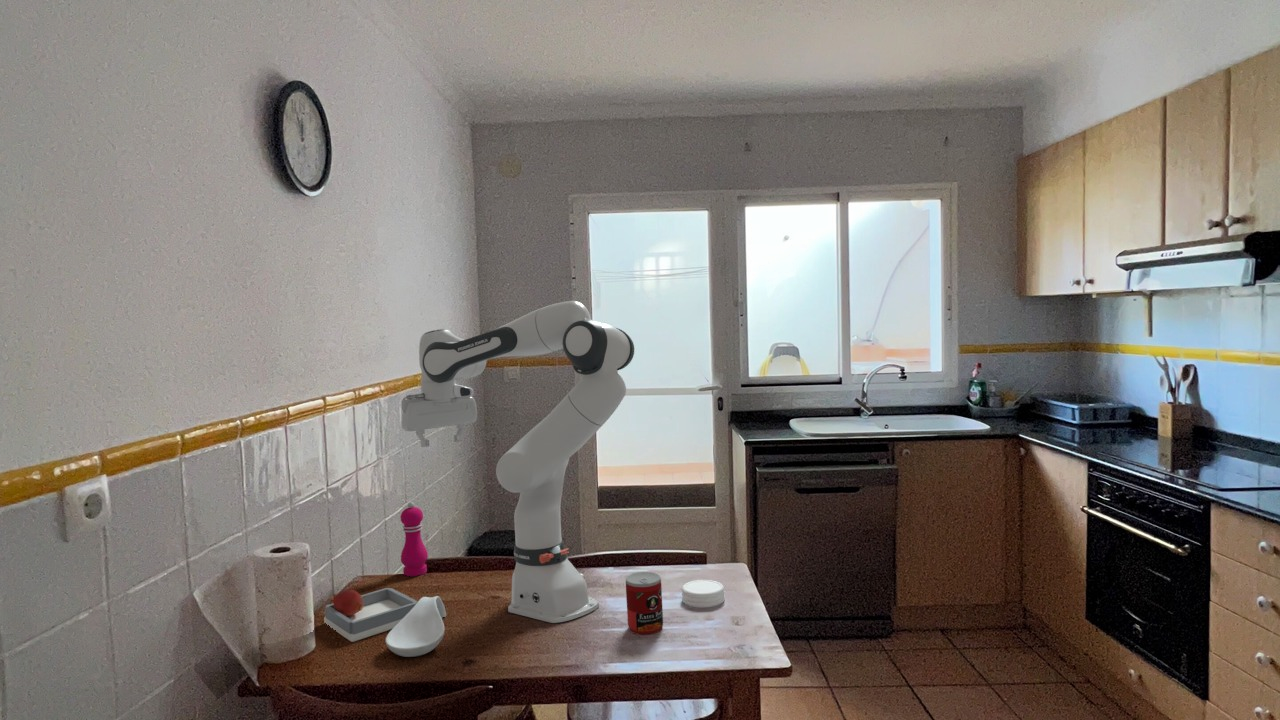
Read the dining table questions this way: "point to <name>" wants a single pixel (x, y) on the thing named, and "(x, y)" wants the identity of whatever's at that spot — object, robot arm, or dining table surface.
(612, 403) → the robot arm
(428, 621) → the spoon rest
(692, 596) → the white short cylinder
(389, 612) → the stand
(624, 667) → the dining table surface
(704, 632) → the dining table surface
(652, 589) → the canned food
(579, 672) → the dining table surface
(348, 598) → the onion
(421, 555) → the pepper mill
